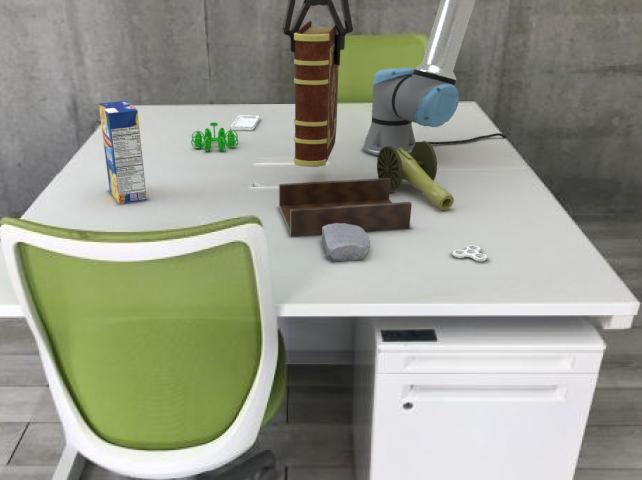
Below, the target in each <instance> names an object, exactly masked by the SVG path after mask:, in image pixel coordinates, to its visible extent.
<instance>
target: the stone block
mask: <svg viewBox="0 0 642 480" xmlns="http://www.w3.org/2000/svg"><path fill="white" fill-rule="evenodd" d="M321 241H322V245H323V247H324V251H325V254H326V257H327V259H329V260H330V261H331V262H337V261H339V262H344V261H359V260H362V259H364V257H365V256H366V255H367V254H368V253H369V251H370V249H371V239H370V237H369V236H368V233H367V232H365V231H364V230H363V229H362V228H361V227H358V226H356V225H349V224H345V223H343V224H342V223H340V224H339V223H334V224H328V225H326V226H323V227H322V235H321Z"/></svg>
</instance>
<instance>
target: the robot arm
mask: <svg viewBox="0 0 642 480" xmlns="http://www.w3.org/2000/svg"><path fill="white" fill-rule="evenodd" d="M475 3H476V0H440V1H439V5H438V8H437V11H436V14H435V18H434V21H433V24H432V28H431V32H430V35H429V38H428V42H427V46H426V48H425V52H424V55H423V58H422V61H421V63H420V64H418V65H417V66H416V67H396V68H395V67H393V68H386V69H380V70H378V71H377V72H375V74H374V77H373V84H372V103H371V104H372V105H371V107H372V108H371V109H372V110H371V123H370V126H369V129H368V131H367V134H366V137H365V140H364V143H363V151H365V153H367V154H369V155H371V156H376V157H378V155H379V152H380V151H381V149H382V148H383V147H385V146H392V147H394V148H395V149H396V150H398V148H403V149H404V150H405V151H406V152H407V153H408V154H409V155H411V153H412V149H413V147H414V146H415V144H416V143H418V142H419V141H416V138H415V133H414V129H413V124H412V123H414V124H418V125H419V126H423V127H429V128H438V127H442V126H444V125H445V124H446V123H448V122H449V121H450V120H451V119H452V118H453V116H454V115H455V113H456V111H457V109H458V106H459V104H460V103H459V102H460V97H459V90H458V89H457V88H456V86H455V85H456V82H457V77H456V74H455V72H454V70H455V66H456V63H457V60H458V57H459V54H460V51H461V48H462V44H463V41H464V37H465V35H466V31H467V29H468V25H469V22H470V19H471V15H472V13H473V10H474V6H475ZM295 5H296V0H288V1H287V5H286V11H285V15H284V20H283V25H282V29H281V32H282V33H283V35H285V36H288V37H289V50H290V52H291V53H293V54H294V55H293V58H294V59H295V40H294V33H296V32H298V31H299V30H300V29H301V28H302V24H303V22H304V20H305V18H306V16H307V13H308V12H309V10H310V9H311V7H316V6H322V7H323V6H325V7H326V8H327V11H328V12H329V15H330V17H331V19H332V22H333V23H334V26H336V28H337V30H338V33H339V35H335V64H336V65H339V66H341V51H343V50H345V47H346V45H345V44H346V35H348V34H351V33H353V31H354V26H353V22H352V21H353V20H352V16H351V11H350V4H349V0H340V5H341V11H342V17H343V21H344V25H343V23H342V21H341V18H340V16H339V14H338V12H337V9H336V8H335V5H334V2H333V0H303V1H302V4H301V7H300V10H299V12H298V14H297V16H296V18H295V21H294V23H293V25H292V24H291V23H292V19H293V14H294V10H295ZM291 25H292V27H291ZM344 26H345V27H344ZM290 28H291V29H290ZM294 59H293V60H294ZM293 64H294V63H293ZM294 66H295V64H294ZM493 137H502V138H503V139H508V138H507V136H506V135H505V134H504V133H501V132H500V133H499V132H495V133H492V134H485V135H480V136H476V137H473V138H467V139H460V140H447V141H445V140H444V141H427V142H428V143H430V144H431V145H454V144H465V143H471V142H474V141H478V140H482V139H483V140H484V139H488V138H493Z"/></svg>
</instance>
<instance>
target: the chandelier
mask: <svg viewBox="0 0 642 480" xmlns="http://www.w3.org/2000/svg"><path fill="white" fill-rule="evenodd" d="M209 125H210V126H211V127H213V133H212V131H211V129H210V128H209V127H206V128H205V130H204V132H203V131H200V130H196V131H194V132H193V133H192V134H191V141H190V144H191V147H193V148H194V149H195V150H200V149H202V148H204V151H205V152H207V153H208V152H210V151H211V150H212V146H213V145H212V143H213V142H215V143H216V142H217V149H218V150H220V152H225V150H226V147H227V148H229V149H235V148H236V147H237V146H238V144H239V139H238V138H239V137H238V132H236V130H231V129H229V130H227V131H225V128H224V127H220V128H219V129H218V131H217V132H218V133H217V137H216V127H217V126H219V124H218V122H210V123H209Z"/></svg>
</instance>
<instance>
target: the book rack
mask: <svg viewBox="0 0 642 480" xmlns="http://www.w3.org/2000/svg"><path fill="white" fill-rule="evenodd" d="M390 180H391V179H390V178H378V177H377V178H359V179H343V180H325V181H309V182H308V181H307V182H289V183H279V184H278V208H279V211H280V213H281V216H282V218H283V221H284V223H285V226H286V228H287V230H288V233H289V236H290V237H306V236H322V227H323V226H326V225H328V224H334V223H339V224H340V223H342V224H343V223H345V224H349V225H356V226H358V227H361V228H362V229H363V230H364V231H365V232H366V233H367V232H381V231H383V232H384V231H385V232H386V231H397V230H399V231H400V230H410V228H411V226H410V225H411V217H412V216H411V215H412V206H413V205H412V204H413V203H412V202H411V201H402V202H392V200H390V193H391V192H390Z"/></svg>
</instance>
